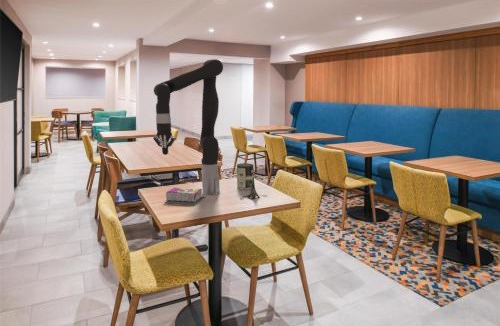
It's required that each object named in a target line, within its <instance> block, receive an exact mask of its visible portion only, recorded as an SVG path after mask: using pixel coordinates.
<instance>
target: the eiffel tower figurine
mask: <svg viewBox="0 0 500 326" xmlns="http://www.w3.org/2000/svg"><path fill="white" fill-rule="evenodd" d="M260 196H261V197H265V198H266V197H268V195H267V194H266V195H265V194H264V195H263V194H262V195H261V194H260V195H259V194H258V192H257V190H256V187H255V176H254V174H253V186H252V189H251V191H250V193H249V194H246V195H243V196H242V197H240V198H239V200H244V199H245V198H247V199H249V200H253V201H254V200H258V199H261V197H260Z"/></svg>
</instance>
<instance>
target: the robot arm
mask: <svg viewBox="0 0 500 326" xmlns="http://www.w3.org/2000/svg"><path fill="white" fill-rule="evenodd" d="M223 70H224V65H223V63H222V61H220V60H219V59H217V58H211V59H207V60H205V61H204V62H203V65H202V66H201V67H198V68H196V69H194V70H191V71H188V72H185V73H182V74H179V75H177V76H174V77H173V78H171V79H169V80H166V81H162V82H160V83H158V84H156V85H154V87H153V93H154V95H155V96H156V101H157V103H156V104H155V112H156V113H155V114H156V117H155V119H156V120H155V122H156V136H154V137H153V141H154V142H155V143H156V144H157V146H158V147H161V152H162V153H161V154H163V155H164V156H166V155H168V154H169V147H172V146H173V144H174V142H175V141H176V139H177V138H176V136H173V133H172V121H171V120H172V119H171V110H170V108H171V107H170V103H171V102H170V101H171V94H172V93H174V92H177V91H181V90H183V89H185V88H188V87H190V86H191V85H193V84H196V83H197V82H200V81H202V80H203V81H202V83H203V86H202V101H201V103H202V104H201V131H200V132H201V133H200V136H199V137H200V139H199V145H200V148H201V149H202V158H201V184H202V186H201V187H202V188H201V189H202V194H204V195H217V194H218V193H220V191H221V189H220V186H221V185H220V175H219V169H218V168H219V162H218V160H219V157H220V155H219V154H220V153H219V152H220V151H219V150H220V149H219V148H220V146H219V141H218V139H217V138H216V137H215V125H216V122H217V120H218V119H217V118H218V115H219V107H220V106H219V104H220V101H219V95H218V91H217V85H216V83H217V77H218V76H219V75H221V74H222V72H223Z"/></svg>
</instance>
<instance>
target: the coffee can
mask: <svg viewBox="0 0 500 326" xmlns="http://www.w3.org/2000/svg"><path fill="white" fill-rule="evenodd" d="M253 175H254V163H247V162H246V163H244V162H243V163H237V164H236V188H237V189H239V190H250V189H251V190H252V186H253Z"/></svg>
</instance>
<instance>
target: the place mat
mask: <svg viewBox="0 0 500 326" xmlns="http://www.w3.org/2000/svg"><path fill="white" fill-rule="evenodd" d="M206 198H207V196H203V195H202V197H201V198H199V199H198V200H197V201H196V202H185V201H167V200H166V201H165V202H164V204H170V205H171V204H172V205H181V206H182V205H183V206H193V207H194V206H196V205H197V204H199V203H200V202H202V201H203V200H205V199H206Z"/></svg>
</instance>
